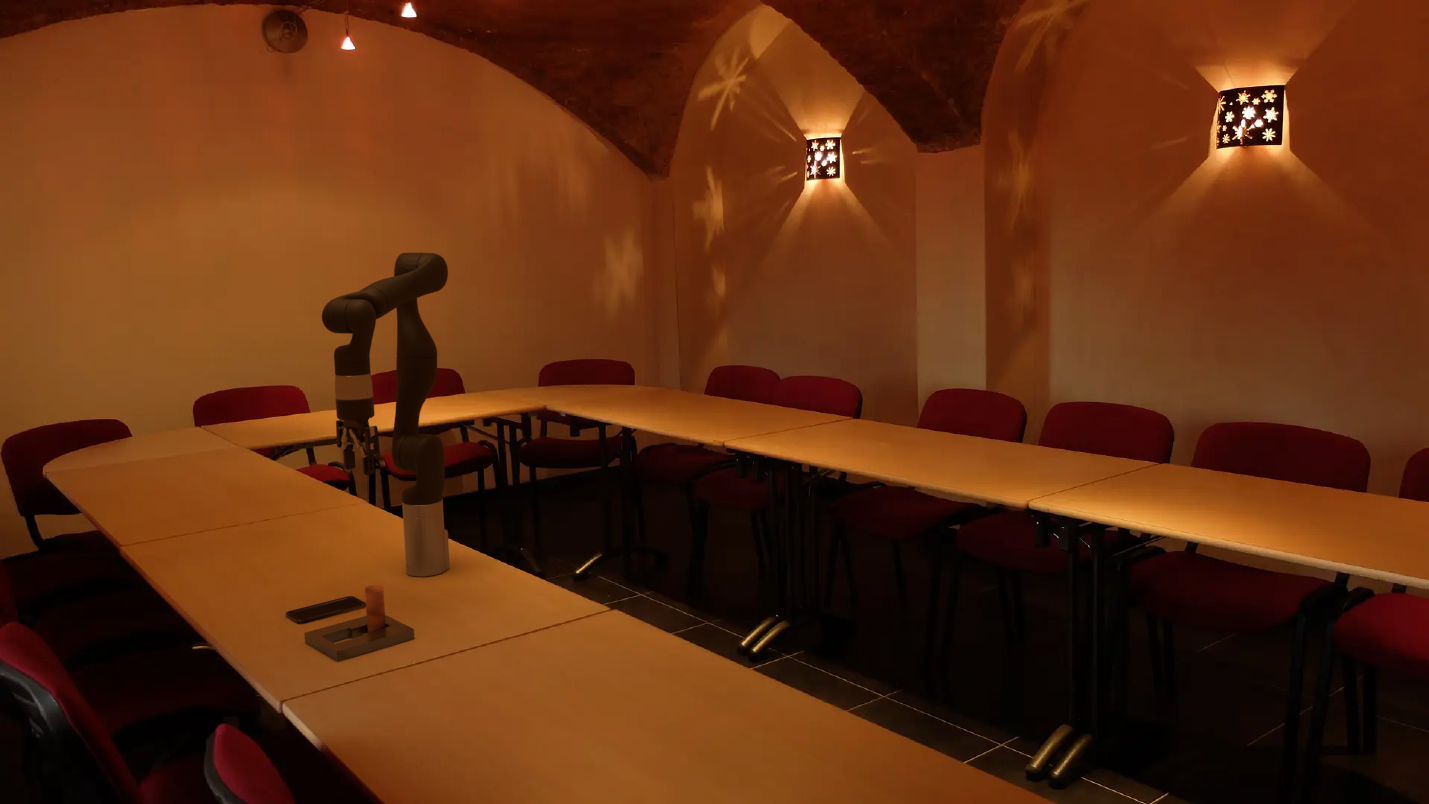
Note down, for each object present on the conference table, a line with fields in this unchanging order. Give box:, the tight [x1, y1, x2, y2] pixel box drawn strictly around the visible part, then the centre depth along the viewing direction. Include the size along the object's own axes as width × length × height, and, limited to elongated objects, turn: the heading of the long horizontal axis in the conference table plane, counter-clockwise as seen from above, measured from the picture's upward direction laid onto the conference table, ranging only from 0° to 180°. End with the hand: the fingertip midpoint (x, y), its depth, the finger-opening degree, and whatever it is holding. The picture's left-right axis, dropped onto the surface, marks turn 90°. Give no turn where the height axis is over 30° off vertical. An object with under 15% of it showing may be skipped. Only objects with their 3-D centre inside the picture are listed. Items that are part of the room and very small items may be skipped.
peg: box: [364, 584, 386, 632], centre depth 213 cm, size 4×4×10 cm
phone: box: [285, 595, 366, 625], centre depth 228 cm, size 8×1×15 cm
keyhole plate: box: [303, 614, 415, 663], centre depth 211 cm, size 16×14×2 cm
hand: (359, 471), depth 225 cm, fingers open, 8 cm apart
